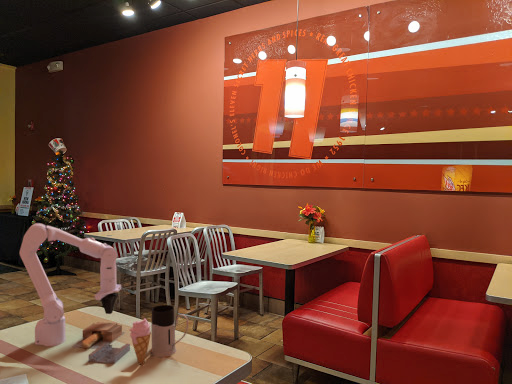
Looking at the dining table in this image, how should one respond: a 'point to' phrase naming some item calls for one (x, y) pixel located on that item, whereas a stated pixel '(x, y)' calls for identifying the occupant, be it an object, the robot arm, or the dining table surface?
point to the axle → (92, 339)
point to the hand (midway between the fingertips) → (109, 313)
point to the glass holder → (164, 330)
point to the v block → (108, 353)
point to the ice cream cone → (140, 339)
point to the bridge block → (109, 333)
